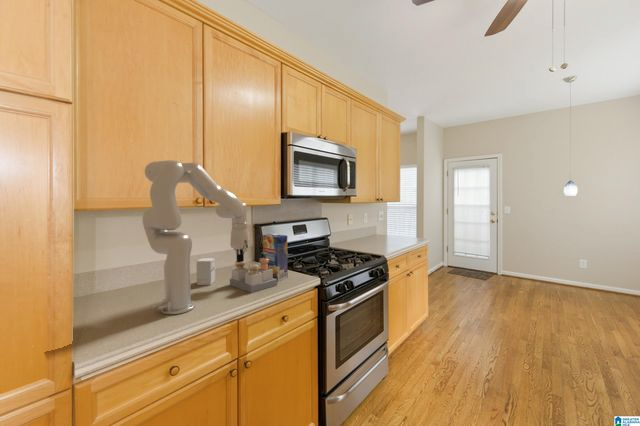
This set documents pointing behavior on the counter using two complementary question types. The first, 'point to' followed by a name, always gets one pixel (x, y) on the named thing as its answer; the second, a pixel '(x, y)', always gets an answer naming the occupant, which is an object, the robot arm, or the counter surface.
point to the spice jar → (253, 269)
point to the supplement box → (205, 271)
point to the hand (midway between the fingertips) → (240, 261)
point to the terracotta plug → (264, 263)
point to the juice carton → (276, 254)
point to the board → (252, 280)
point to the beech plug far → (240, 265)
